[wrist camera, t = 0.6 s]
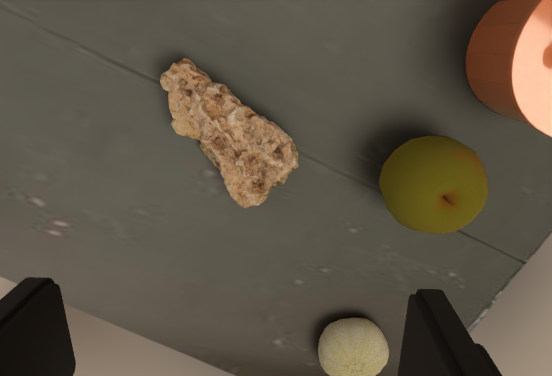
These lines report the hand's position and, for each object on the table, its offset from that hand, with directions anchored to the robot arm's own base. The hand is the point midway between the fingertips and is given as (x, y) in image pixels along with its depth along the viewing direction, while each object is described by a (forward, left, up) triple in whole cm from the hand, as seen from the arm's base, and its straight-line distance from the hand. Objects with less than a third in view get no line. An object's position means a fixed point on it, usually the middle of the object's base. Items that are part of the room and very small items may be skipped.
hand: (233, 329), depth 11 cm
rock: (-1, -6, -35) cm, 35 cm away
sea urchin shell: (+31, -8, -35) cm, 47 cm away
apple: (+14, +10, -35) cm, 39 cm away
